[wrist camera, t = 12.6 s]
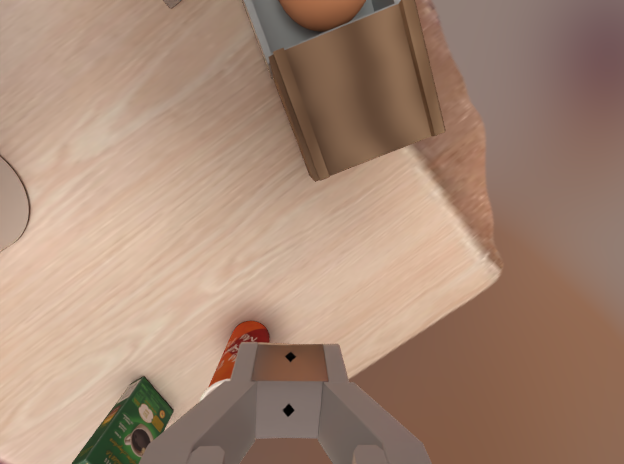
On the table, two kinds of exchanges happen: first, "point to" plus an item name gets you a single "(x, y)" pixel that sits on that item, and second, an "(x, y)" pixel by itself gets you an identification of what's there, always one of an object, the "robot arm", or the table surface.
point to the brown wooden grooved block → (359, 90)
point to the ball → (322, 12)
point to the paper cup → (236, 351)
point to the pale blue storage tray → (291, 24)
